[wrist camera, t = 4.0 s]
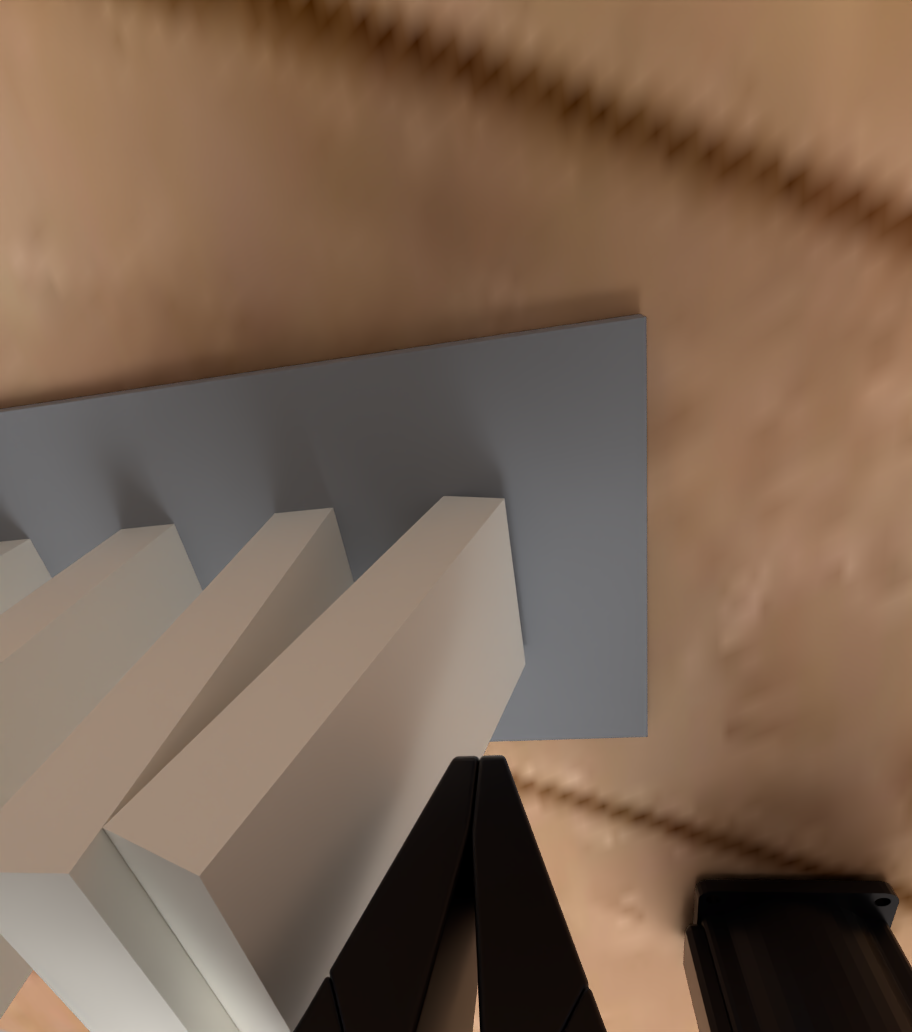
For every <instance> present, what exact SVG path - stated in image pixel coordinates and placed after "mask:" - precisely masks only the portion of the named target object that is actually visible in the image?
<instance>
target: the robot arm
mask: <svg viewBox="0 0 912 1032" xmlns="http://www.w3.org/2000/svg"><path fill="white" fill-rule="evenodd" d="M898 904H899V899H898V897H897V895H896V893H895V892H894V890H893V888H892V887H891V886H890V884H888V883H886V882H882V881H815V880H703V881H701V882H699V883H698V884H696V887H695V898H694V914H693V924H689V926H688V927H687V929H686V930H685V941H684V961H683V964H684V969H685V973H686V978H687V982H688V986H689V990H690V995H691V999H692V1003H693V1007H694V1012H695V1016H696V1020H697V1024H698V1029H699V1032H912V967H911V965H910V963H909V961H908V960H907V958H906V956H905V954H904V952H903V951H902V949H901V947H900V945H899V943H898V941H897V940H896V938H895V936H894V934H893V932H892V931H891V929H890V927H891V924H892V921H893V918H894V915H895V913H896V910H897V907H898ZM329 974H330V977H326V978H325V979H324V980H323V982H322V984H321V986H320V987H319V989H318V991H317V993H316V994H315V996H314V998H313V999H312V1001H311V1003H310V1005H309V1006H308V1008H307V1010H306V1011H305V1013H304V1015H303V1016H302V1018H301V1020H300V1021H299V1023H298V1024H297V1026H296V1028H295V1029H294V1031H293V1032H473V1022H474V1013H475V1004H476V995H477V985H478V996H479V1017H480V1032H607V1031H606V1028H605V1026H604V1023H603V1020H602V1018H601V1015H600V1012H599V1010H598V1007H597V1004H596V1001H595V999H594V996H593V993H592V991H591V990H590V989H589V987H588V980H587V978H586V975H585V972H584V970H583V967H582V964H581V962H580V959H579V956H578V953H577V951H576V948H575V945H574V943H573V940H572V937H571V934H570V932H569V929H568V926H567V924H566V921H565V918H564V915H563V913H562V910H561V907H560V905H559V902H558V899H557V896H556V894H555V891H554V888H553V886H552V883H551V880H550V877H549V875H548V872H547V869H546V867H545V864H544V861H543V858H542V856H541V853H540V850H539V848H538V845H537V842H536V839H535V837H534V834H533V831H532V829H531V826H530V823H529V821H528V818H527V815H526V812H525V810H524V807H523V804H522V802H521V799H520V796H519V793H518V791H517V788H516V785H515V783H514V780H513V777H512V774H511V772H510V769H509V766H508V764H507V761H506V759H505V757H504V756H502V755H492V756H482V757H481V758H480V760H479V758H478V757H477V756H457V757H455V758H453V760H452V761H451V762H450V764H449V766H448V768H447V769H446V771H445V773H444V774H443V776H442V778H441V780H440V781H439V783H438V785H437V787H436V788H435V790H434V792H433V793H432V795H431V797H430V799H429V800H428V802H427V804H426V805H425V807H424V809H423V811H422V812H421V814H420V816H419V817H418V819H417V821H416V823H415V824H414V826H413V828H412V830H411V831H410V833H409V835H408V836H407V838H406V840H405V842H404V843H403V845H402V847H401V848H400V850H399V852H398V854H397V855H396V857H395V859H394V861H393V862H392V864H391V866H390V867H389V869H388V871H387V873H386V874H385V876H384V878H383V879H382V881H381V883H380V885H379V886H378V888H377V890H376V891H375V893H374V895H373V897H372V898H371V900H370V902H369V904H368V905H367V907H366V909H365V910H364V912H363V914H362V916H361V917H360V919H359V921H358V922H357V924H356V926H355V928H354V929H353V931H352V933H351V935H350V936H349V938H348V940H347V941H346V943H345V945H344V947H343V948H342V950H341V952H340V953H339V955H338V957H337V959H336V960H335V962H334V964H333V965H332V967H331V969H330V972H329Z"/></svg>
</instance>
